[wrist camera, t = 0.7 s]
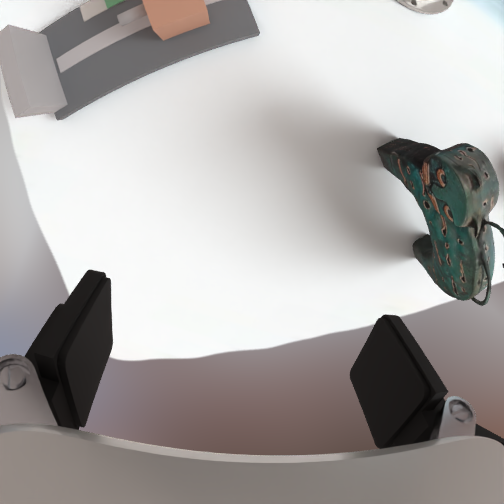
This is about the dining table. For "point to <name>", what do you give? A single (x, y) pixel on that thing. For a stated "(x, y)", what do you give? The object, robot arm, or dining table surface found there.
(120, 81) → the gauge base
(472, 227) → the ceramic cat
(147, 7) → the gauge carriage
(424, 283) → the dining table surface
